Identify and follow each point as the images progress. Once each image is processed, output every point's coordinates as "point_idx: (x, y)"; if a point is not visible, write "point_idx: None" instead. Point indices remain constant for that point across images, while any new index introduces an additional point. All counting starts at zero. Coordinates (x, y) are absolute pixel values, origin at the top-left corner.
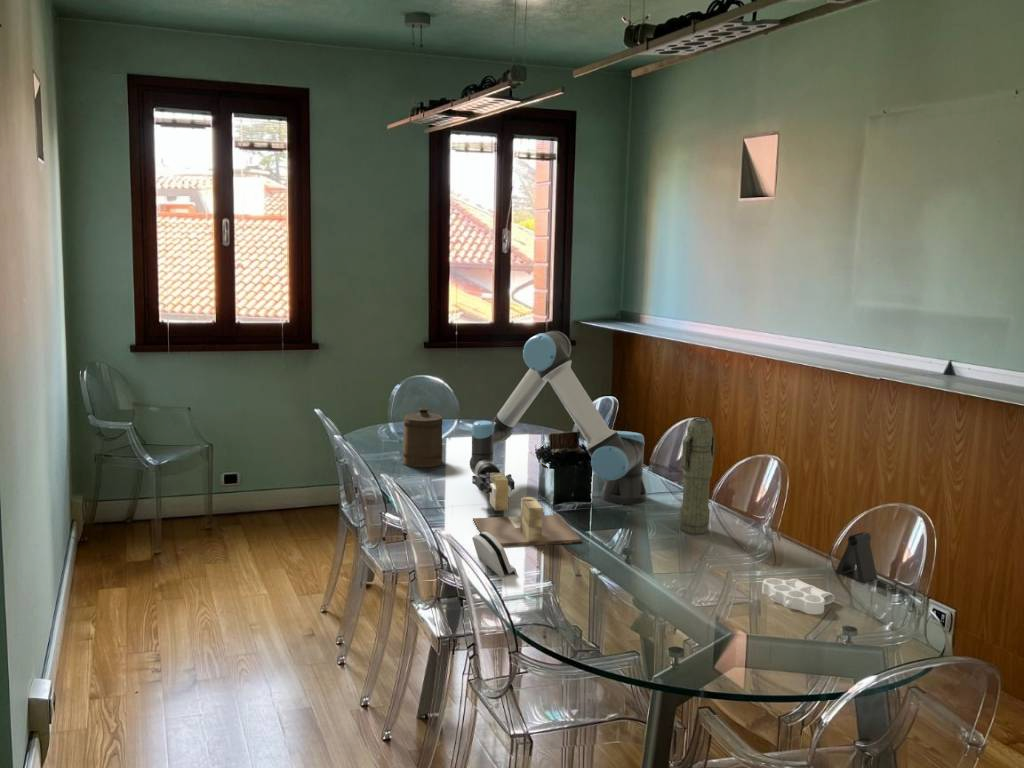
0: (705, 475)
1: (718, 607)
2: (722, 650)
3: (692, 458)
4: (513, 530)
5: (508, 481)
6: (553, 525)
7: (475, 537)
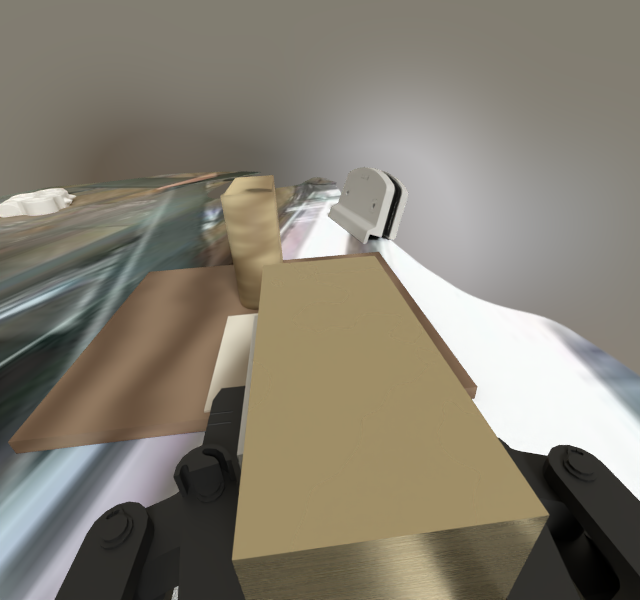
0: None
1: (137, 199)
2: (195, 181)
3: None
4: None
5: (206, 449)
6: (153, 331)
7: (399, 181)
